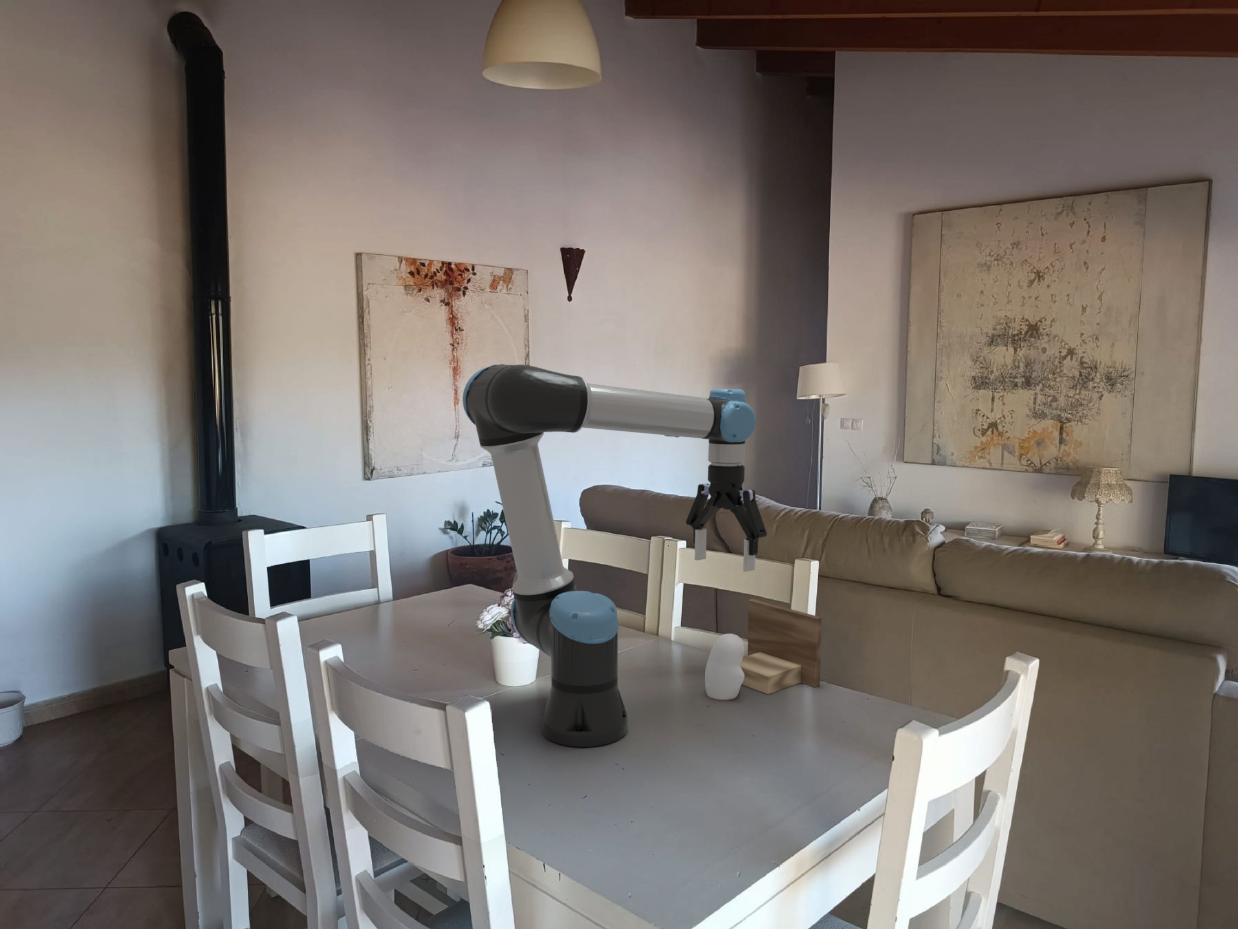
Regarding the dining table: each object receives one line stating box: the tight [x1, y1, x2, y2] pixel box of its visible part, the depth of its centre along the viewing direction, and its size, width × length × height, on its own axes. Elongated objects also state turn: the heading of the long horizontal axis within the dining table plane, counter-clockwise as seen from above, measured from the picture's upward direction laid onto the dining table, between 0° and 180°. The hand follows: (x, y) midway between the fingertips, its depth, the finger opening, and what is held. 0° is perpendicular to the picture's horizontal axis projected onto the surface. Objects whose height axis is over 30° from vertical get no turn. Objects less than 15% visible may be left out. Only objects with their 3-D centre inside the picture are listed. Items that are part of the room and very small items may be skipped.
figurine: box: [704, 633, 745, 701], centre depth 167 cm, size 7×8×12 cm
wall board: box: [741, 598, 822, 695], centre depth 175 cm, size 12×18×14 cm, turn 39°
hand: (724, 565), depth 180 cm, fingers open, 13 cm apart
